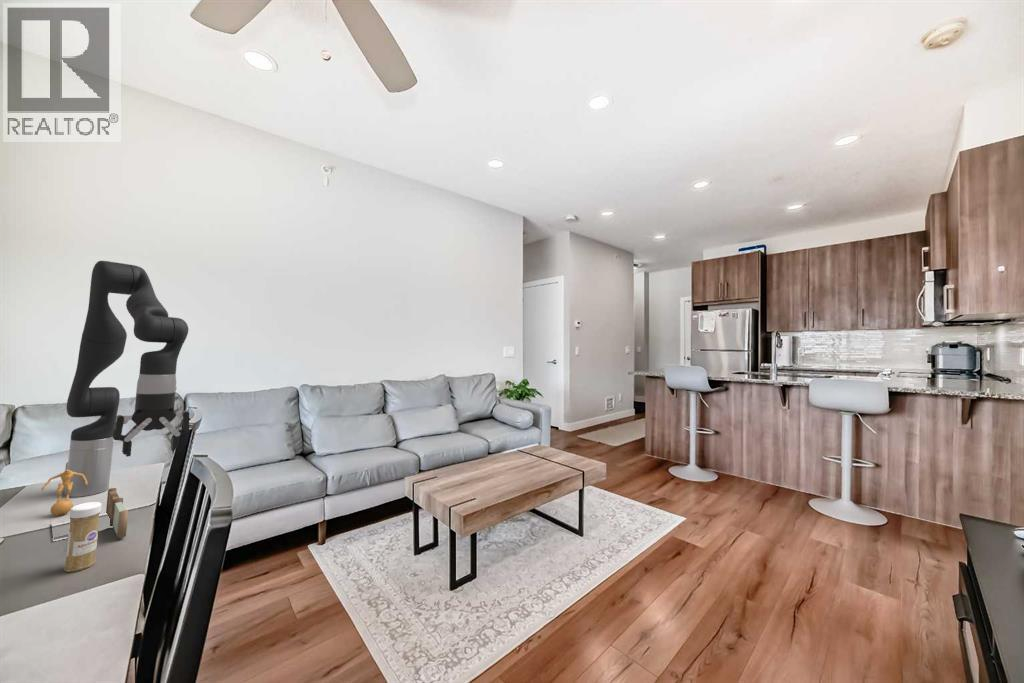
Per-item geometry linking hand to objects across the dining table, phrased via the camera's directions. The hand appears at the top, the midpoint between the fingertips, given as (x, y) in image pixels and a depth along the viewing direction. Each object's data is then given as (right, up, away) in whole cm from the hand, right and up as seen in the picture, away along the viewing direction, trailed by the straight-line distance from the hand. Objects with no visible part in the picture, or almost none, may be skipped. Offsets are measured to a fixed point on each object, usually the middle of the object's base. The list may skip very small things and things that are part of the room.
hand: (151, 452), depth 97 cm
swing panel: (-7, -20, -2) cm, 21 cm away
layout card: (-18, -20, +1) cm, 27 cm away
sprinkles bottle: (-1, -21, -16) cm, 26 cm away
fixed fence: (-15, -20, +5) cm, 25 cm away
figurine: (-31, -19, +6) cm, 37 cm away
